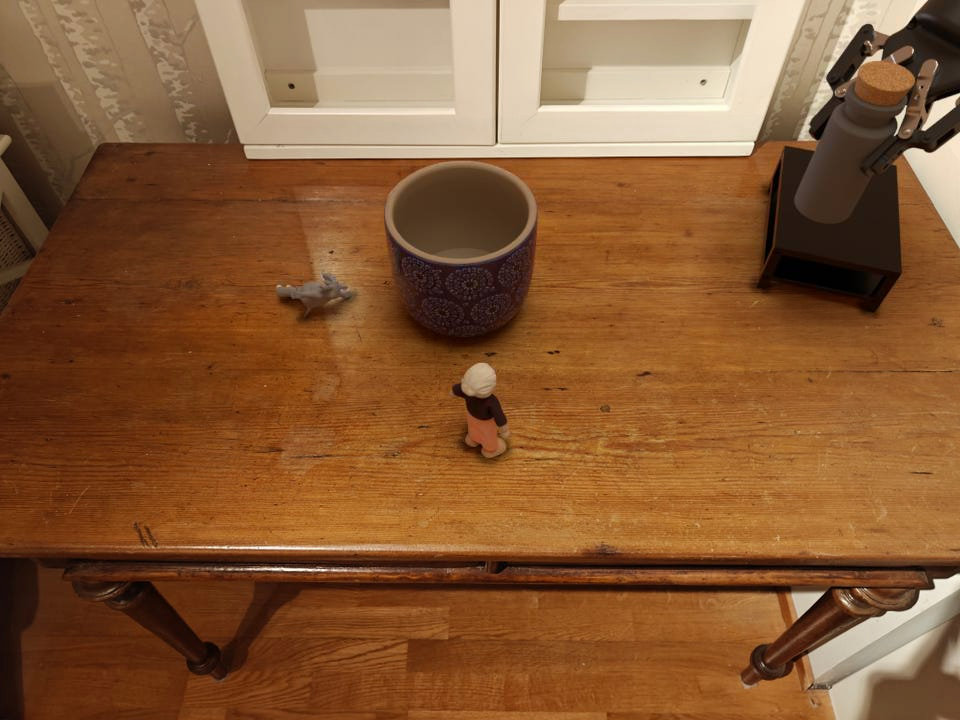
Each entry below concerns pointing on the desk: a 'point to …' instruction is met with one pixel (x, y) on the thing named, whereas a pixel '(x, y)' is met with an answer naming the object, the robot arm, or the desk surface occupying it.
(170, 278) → the desk surface
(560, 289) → the desk surface
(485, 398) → the grandmother figurine
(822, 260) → the stand
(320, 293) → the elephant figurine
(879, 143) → the bottle
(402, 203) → the planter
